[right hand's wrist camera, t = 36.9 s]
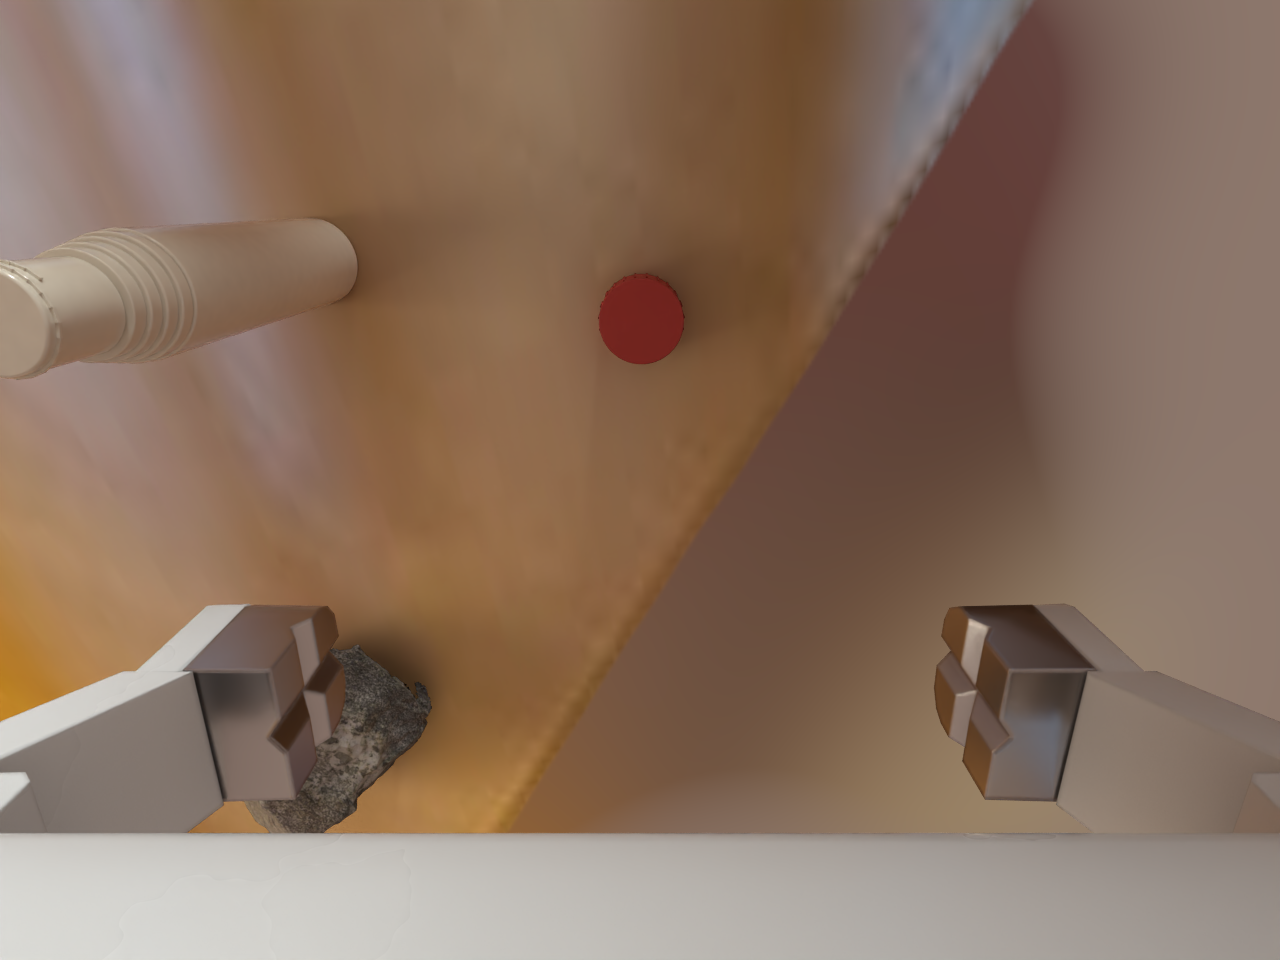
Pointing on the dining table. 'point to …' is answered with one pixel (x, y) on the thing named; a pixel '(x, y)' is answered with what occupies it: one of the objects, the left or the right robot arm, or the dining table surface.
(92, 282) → the bottle
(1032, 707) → the right robot arm
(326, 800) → the rock
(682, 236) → the dining table surface
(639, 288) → the cap
